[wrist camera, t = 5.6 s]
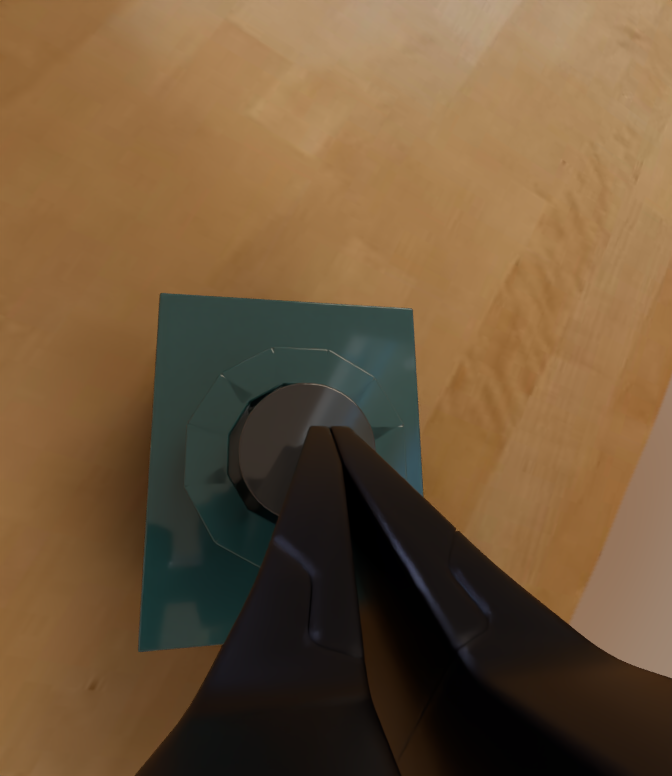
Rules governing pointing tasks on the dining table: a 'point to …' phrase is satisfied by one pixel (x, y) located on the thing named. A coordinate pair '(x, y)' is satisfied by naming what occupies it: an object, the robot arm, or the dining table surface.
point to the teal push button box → (222, 433)
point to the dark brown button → (290, 435)
